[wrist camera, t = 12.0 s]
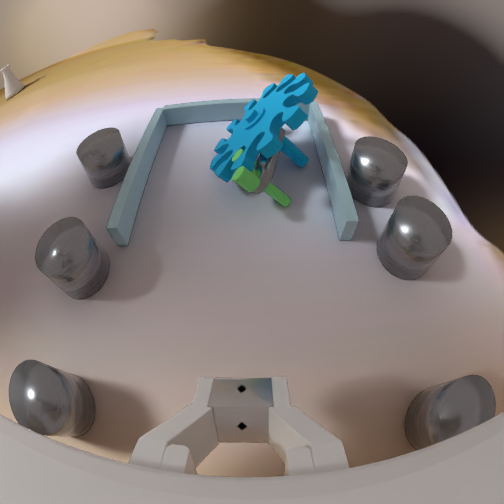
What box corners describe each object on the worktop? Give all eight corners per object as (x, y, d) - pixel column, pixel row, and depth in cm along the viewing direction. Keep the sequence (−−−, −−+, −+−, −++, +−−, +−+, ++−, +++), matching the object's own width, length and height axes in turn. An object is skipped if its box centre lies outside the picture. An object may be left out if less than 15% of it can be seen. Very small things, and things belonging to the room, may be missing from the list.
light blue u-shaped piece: (117, 245, 18) (106, 228, 16) (161, 122, 26) (157, 106, 24) (350, 240, 18) (359, 221, 16) (314, 116, 26) (316, 99, 24)
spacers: (29, 433, 11) (-8, 428, 8) (100, 160, 23) (87, 132, 20) (459, 439, 10) (496, 436, 7) (382, 151, 23) (392, 120, 20)
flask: (9, 95, 49) (-2, 70, 40) (27, 83, 50) (17, 57, 42) (3, 103, 45) (-9, 77, 37) (22, 90, 47) (11, 63, 38)
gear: (228, 108, 24) (310, 49, 17) (273, 144, 27) (356, 101, 20) (182, 201, 20) (285, 141, 12) (243, 239, 23) (353, 209, 15)
